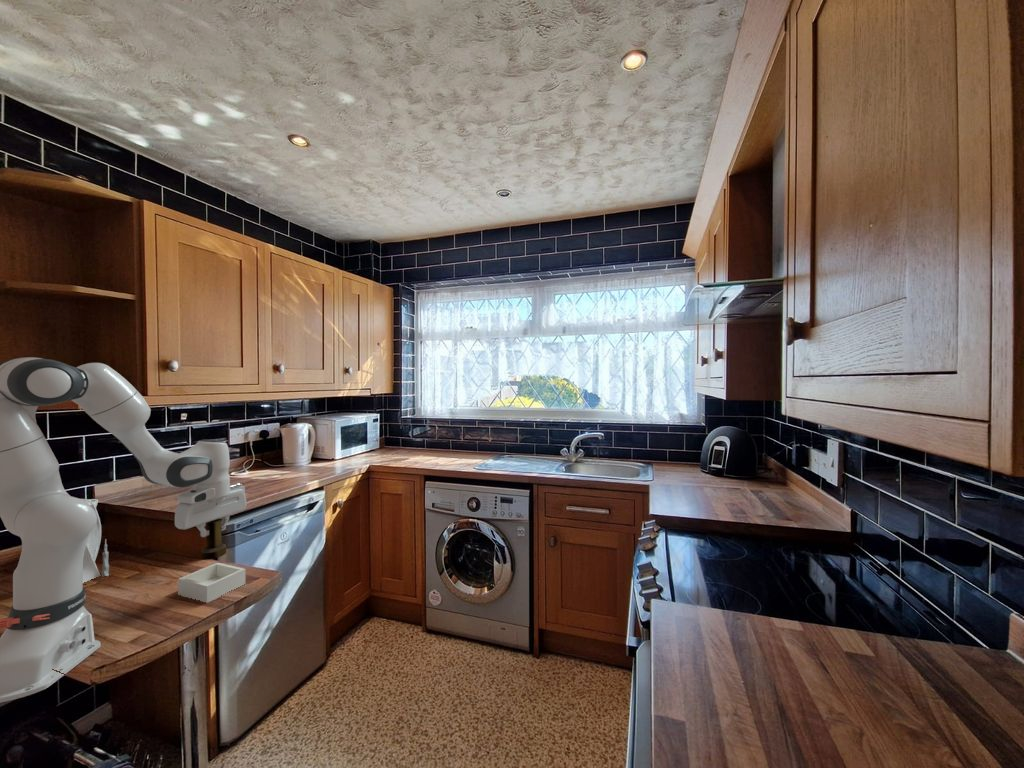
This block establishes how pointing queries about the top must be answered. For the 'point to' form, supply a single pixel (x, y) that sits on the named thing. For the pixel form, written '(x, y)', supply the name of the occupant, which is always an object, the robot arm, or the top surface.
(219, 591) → the open rectangular tray
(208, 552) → the dark brown tall piece
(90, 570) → the skyscraper
